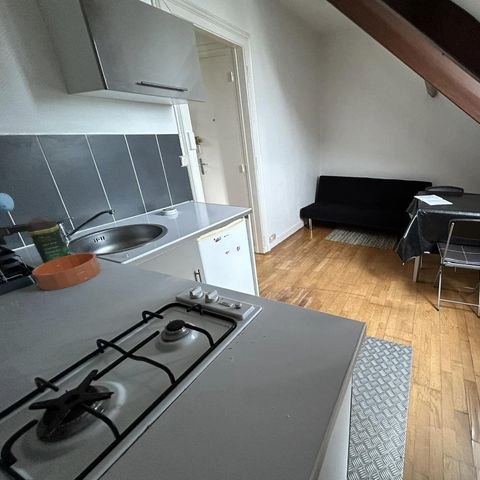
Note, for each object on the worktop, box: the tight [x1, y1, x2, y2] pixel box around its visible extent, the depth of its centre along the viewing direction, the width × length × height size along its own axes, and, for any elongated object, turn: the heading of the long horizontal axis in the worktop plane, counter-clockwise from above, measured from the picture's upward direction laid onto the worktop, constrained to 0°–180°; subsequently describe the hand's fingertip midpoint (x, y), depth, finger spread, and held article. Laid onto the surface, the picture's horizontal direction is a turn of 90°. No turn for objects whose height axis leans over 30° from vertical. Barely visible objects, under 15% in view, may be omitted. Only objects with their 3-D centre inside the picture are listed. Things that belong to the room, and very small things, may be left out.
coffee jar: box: [25, 215, 72, 264], centre depth 97 cm, size 10×8×19 cm
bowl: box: [31, 252, 102, 291], centre depth 89 cm, size 16×16×6 cm
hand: (26, 233), depth 97 cm, fingers open, 13 cm apart
